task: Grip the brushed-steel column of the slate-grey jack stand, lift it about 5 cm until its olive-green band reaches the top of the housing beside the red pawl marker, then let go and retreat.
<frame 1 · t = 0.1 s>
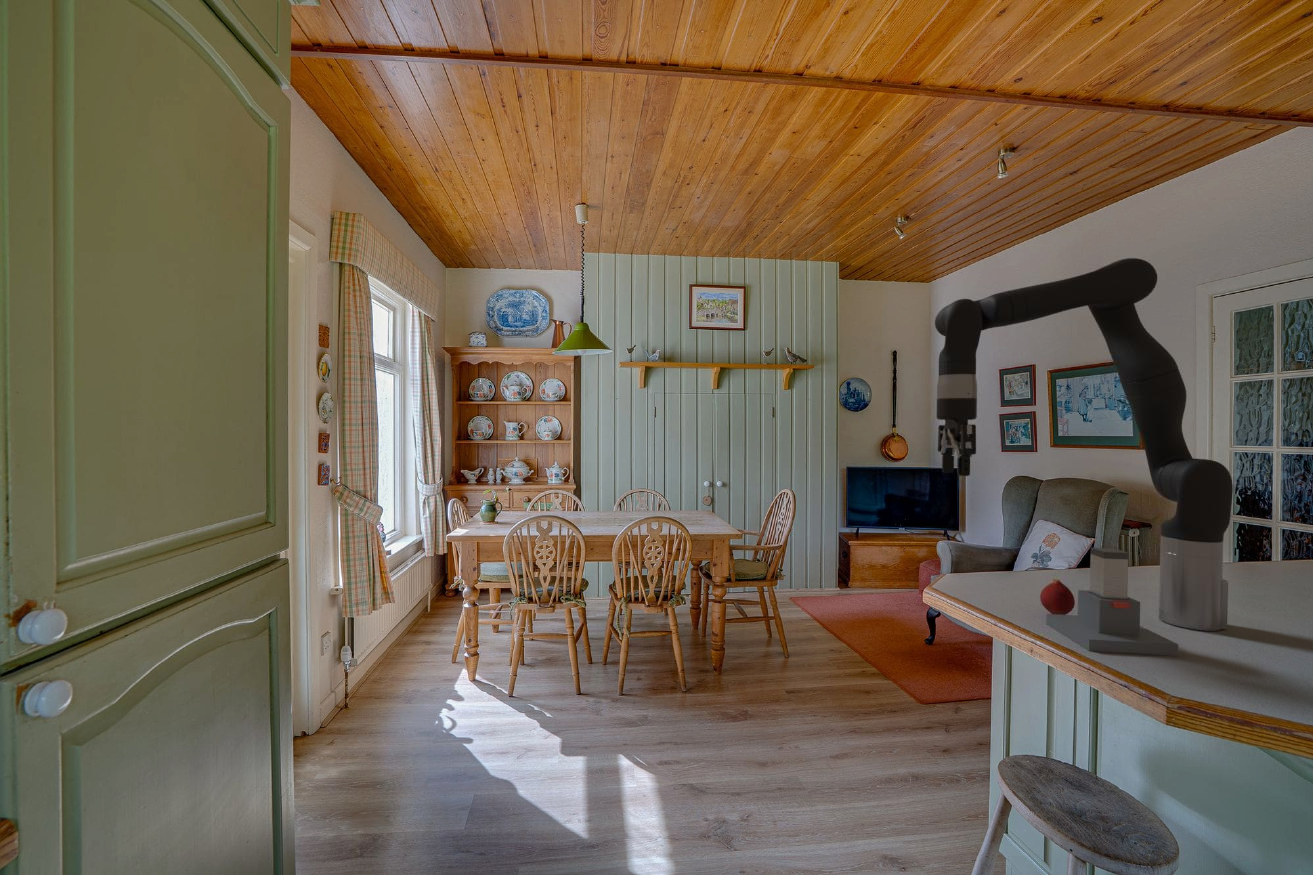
hand: (955, 474, 121), 29 cm above the table, fingers open, 8 cm apart
column: (1108, 588, 106), point 9 cm above the table, slide at 0.0 cm
stand: (1107, 638, 106), on the table
onion: (1057, 618, 118), on the table
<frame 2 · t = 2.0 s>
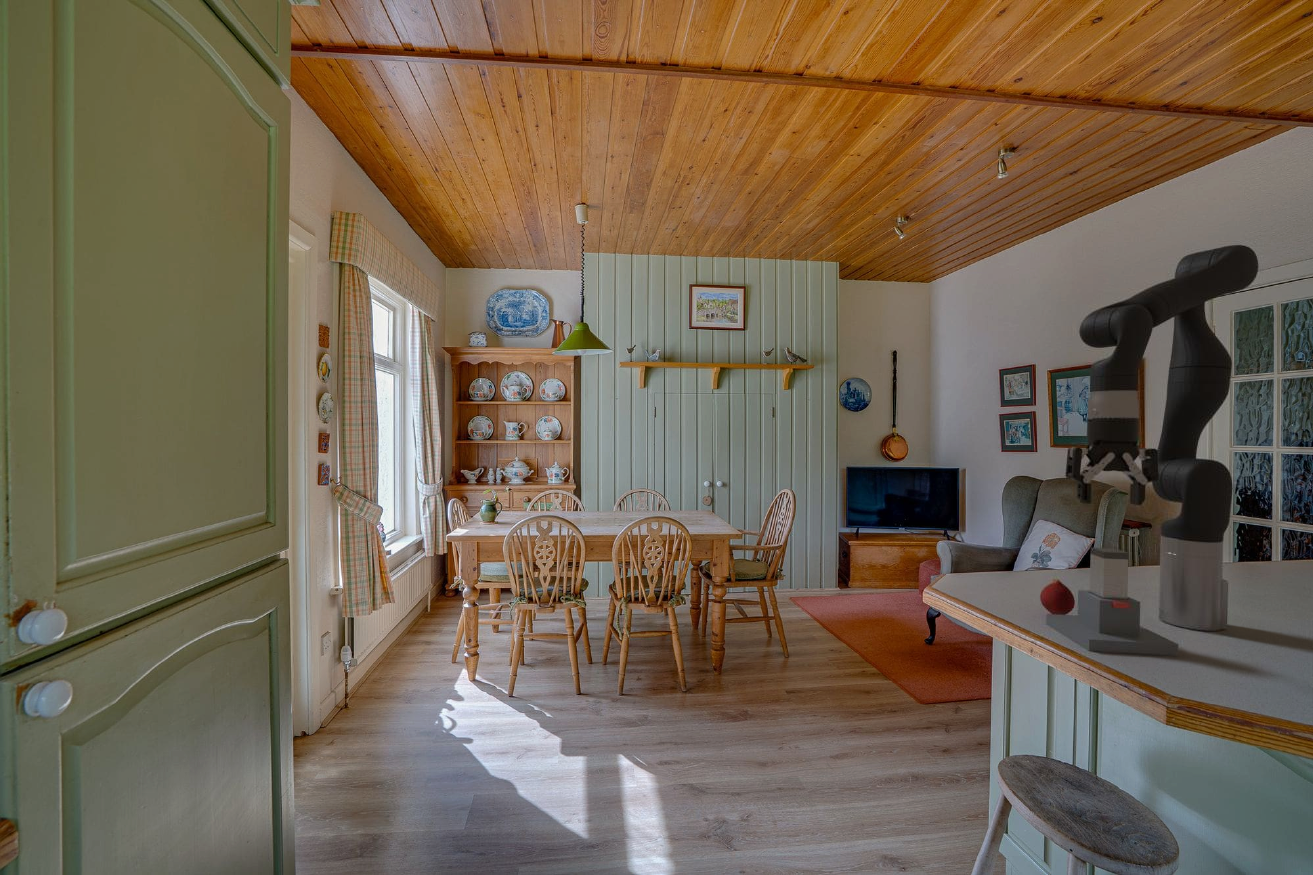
hand: (1110, 503, 106), 25 cm above the table, fingers open, 8 cm apart
nothing on the table moved.
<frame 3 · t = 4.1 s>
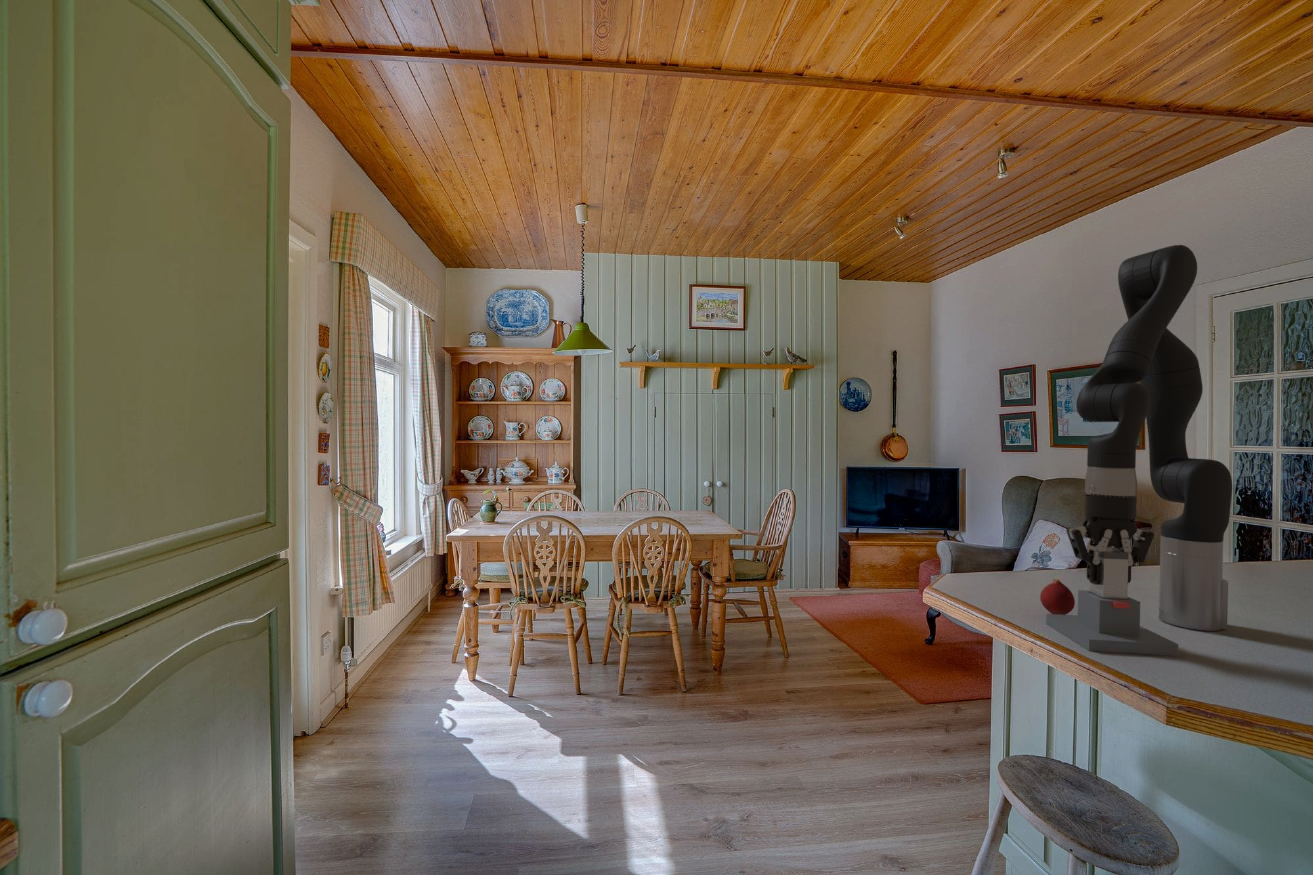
hand: (1108, 583, 106), 10 cm above the table, fingers closed on column, 4 cm apart
column: (1108, 588, 106), point 9 cm above the table, slide at 0.0 cm, touching gripper
everything else where it was.
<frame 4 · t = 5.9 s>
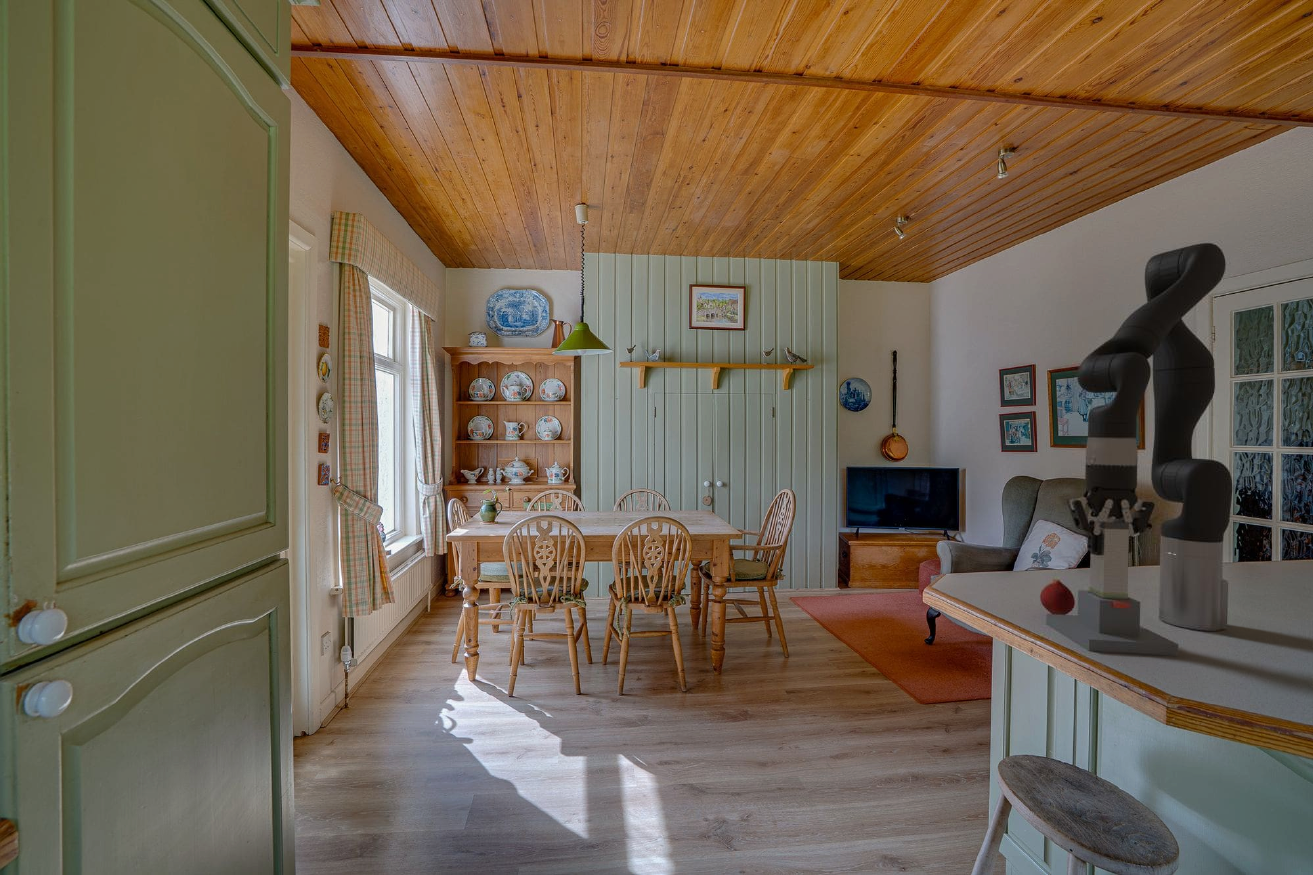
hand: (1108, 554, 106), 16 cm above the table, fingers closed on column, 4 cm apart
column: (1108, 559, 106), point 15 cm above the table, slide at 5.4 cm, touching gripper
everything else where it was.
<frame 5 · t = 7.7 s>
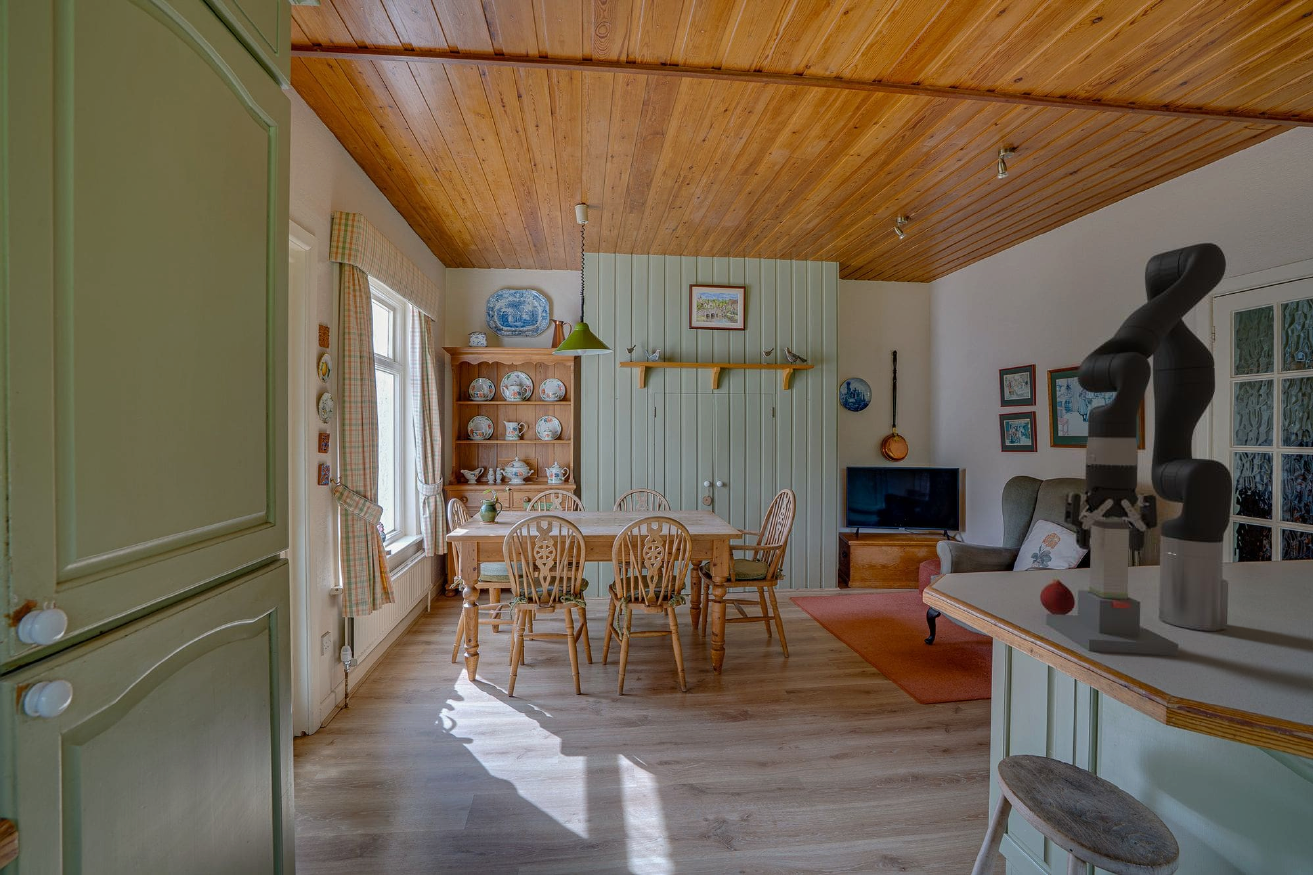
hand: (1109, 549, 106), 17 cm above the table, fingers open, 8 cm apart
column: (1108, 559, 106), point 15 cm above the table, slide at 5.5 cm
everything else where it was.
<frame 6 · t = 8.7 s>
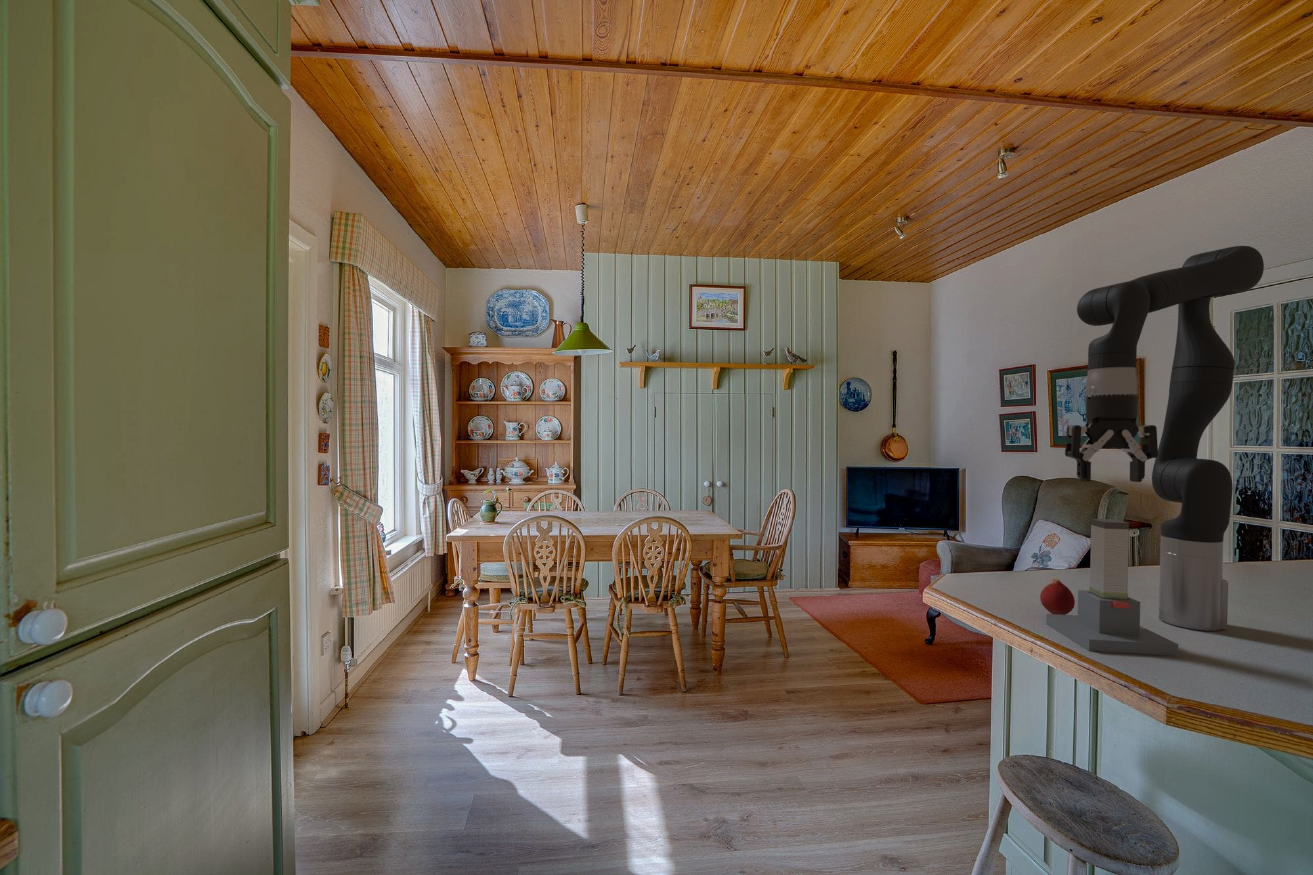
hand: (1110, 481, 106), 29 cm above the table, fingers open, 8 cm apart
nothing on the table moved.
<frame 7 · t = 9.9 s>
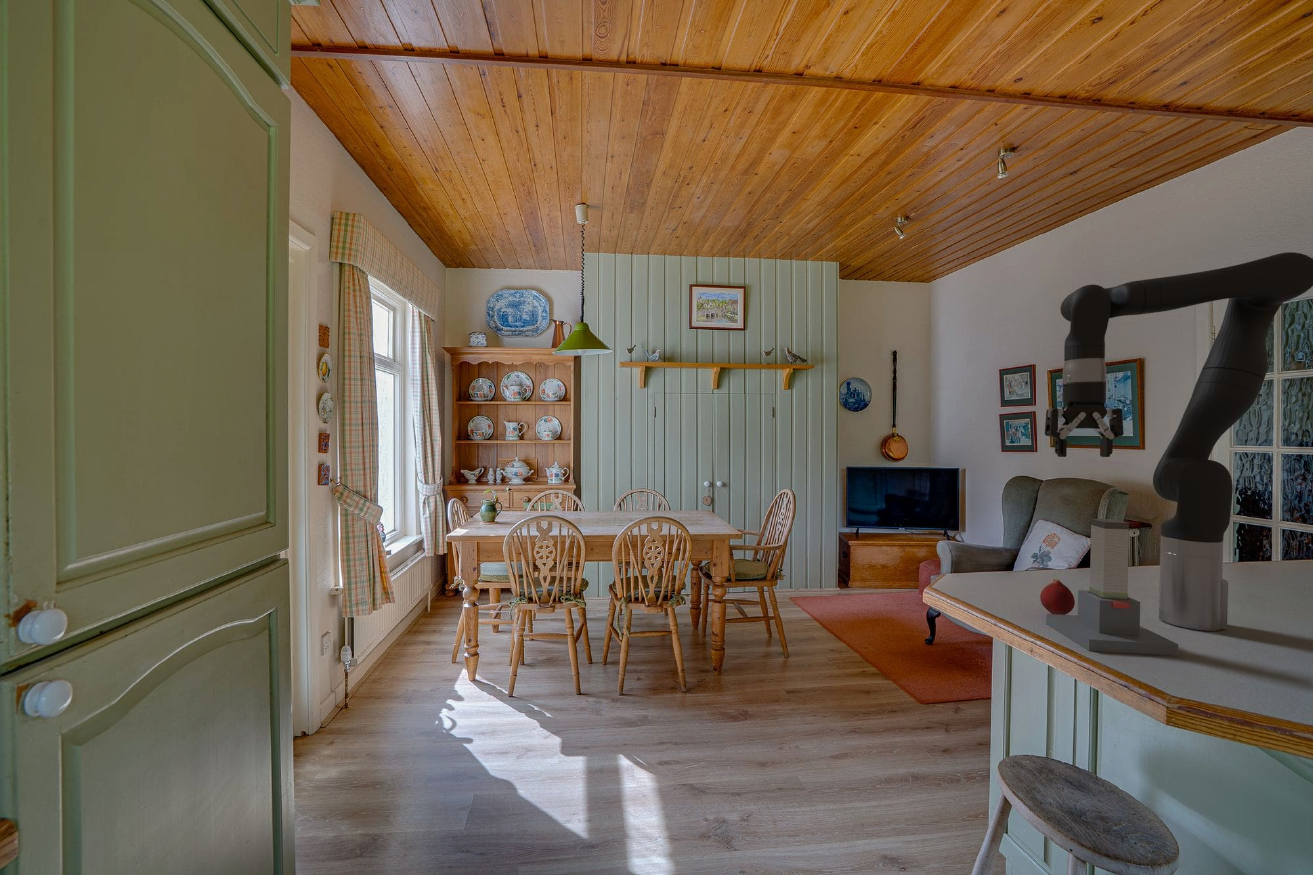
hand: (1083, 456, 123), 33 cm above the table, fingers open, 8 cm apart
nothing on the table moved.
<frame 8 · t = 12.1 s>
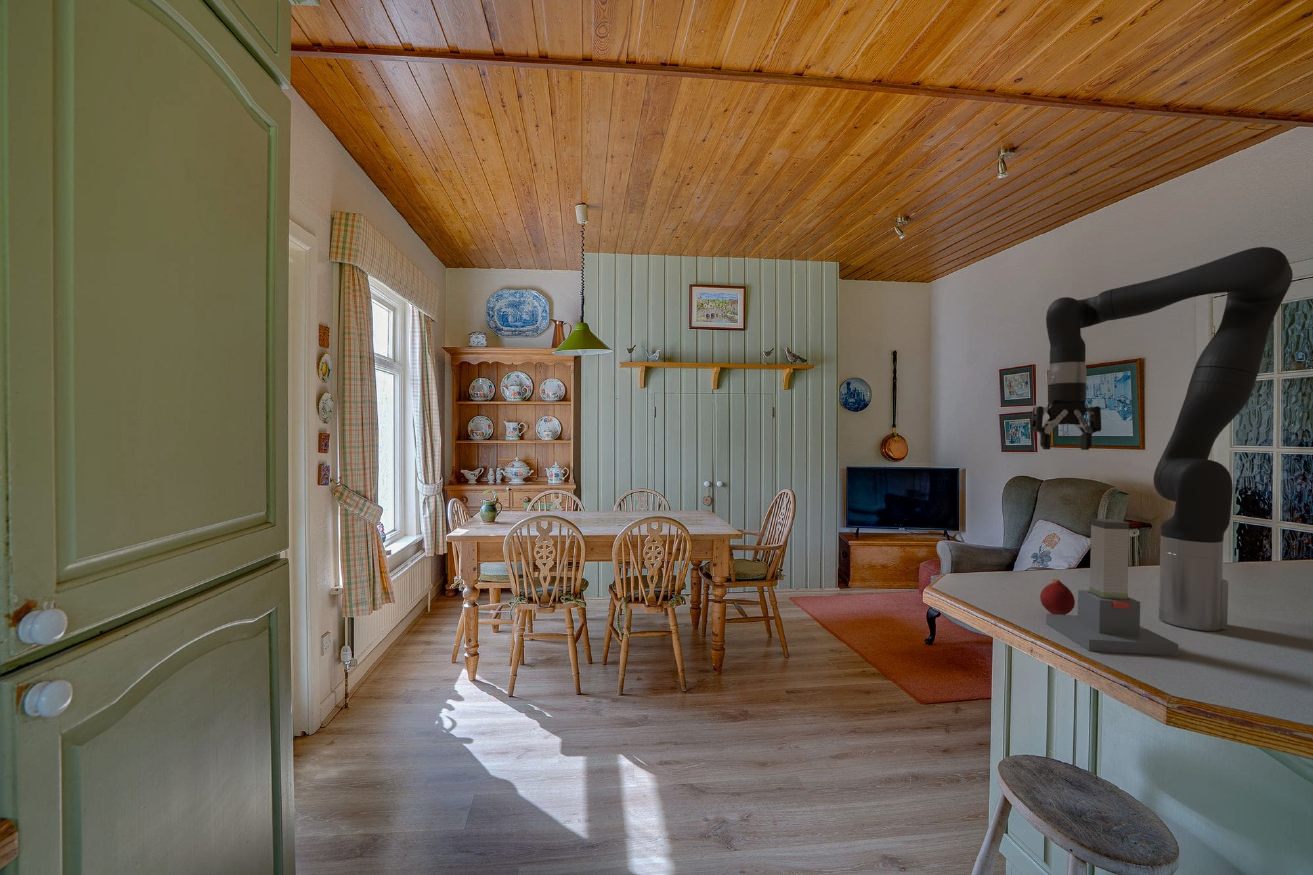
hand: (1065, 449, 138), 34 cm above the table, fingers open, 8 cm apart
nothing on the table moved.
at the end: column slide at 5.5 cm; the gripper is holding nothing; onion moved 0.2 cm from its start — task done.
